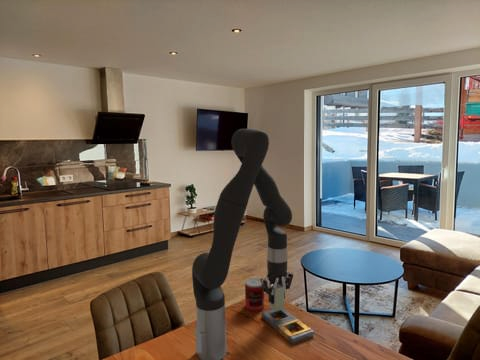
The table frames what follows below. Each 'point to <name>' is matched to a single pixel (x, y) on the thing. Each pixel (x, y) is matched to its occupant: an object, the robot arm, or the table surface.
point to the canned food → (254, 294)
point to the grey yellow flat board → (288, 325)
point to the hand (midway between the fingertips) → (276, 301)
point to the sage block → (278, 298)
